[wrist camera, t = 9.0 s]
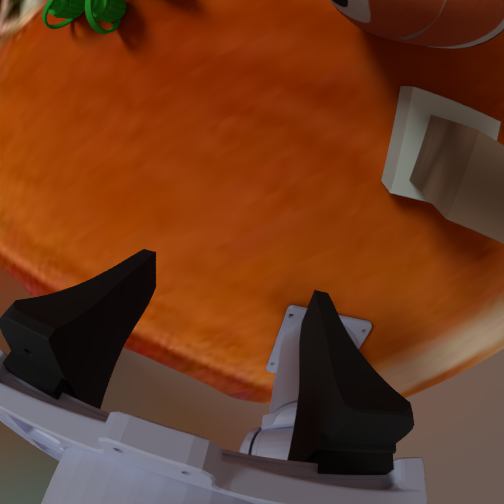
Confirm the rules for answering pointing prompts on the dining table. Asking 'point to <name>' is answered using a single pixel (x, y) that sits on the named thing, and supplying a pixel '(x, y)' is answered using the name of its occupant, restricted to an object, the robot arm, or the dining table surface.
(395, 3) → the toy
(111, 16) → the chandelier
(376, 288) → the dining table surface
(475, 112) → the sage slab
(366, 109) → the dining table surface
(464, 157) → the walnut block
